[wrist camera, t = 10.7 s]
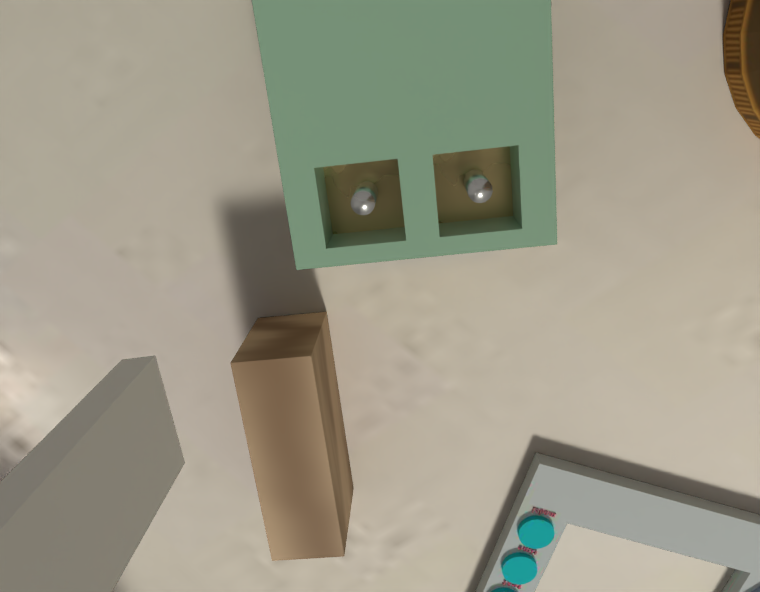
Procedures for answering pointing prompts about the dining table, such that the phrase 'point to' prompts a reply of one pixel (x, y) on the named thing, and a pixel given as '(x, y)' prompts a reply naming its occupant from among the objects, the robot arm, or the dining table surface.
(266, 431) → the brown rectangular block
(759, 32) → the vase
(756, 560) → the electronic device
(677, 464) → the dining table surface
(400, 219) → the chassis
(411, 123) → the board
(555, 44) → the dining table surface
